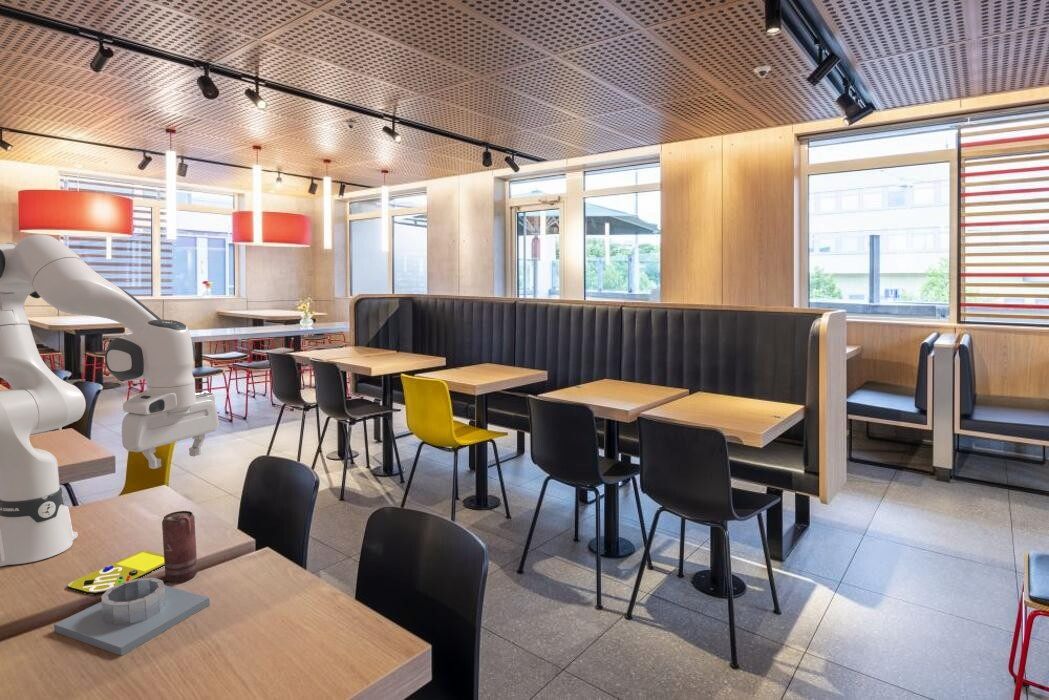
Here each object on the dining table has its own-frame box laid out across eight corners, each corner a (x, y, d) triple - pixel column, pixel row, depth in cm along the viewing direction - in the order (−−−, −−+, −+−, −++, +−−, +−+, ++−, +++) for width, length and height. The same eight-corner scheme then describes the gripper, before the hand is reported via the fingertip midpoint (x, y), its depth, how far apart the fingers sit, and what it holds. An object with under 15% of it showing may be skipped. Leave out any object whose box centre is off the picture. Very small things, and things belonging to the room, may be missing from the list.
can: (184, 585, 131) (181, 522, 129) (158, 581, 132) (154, 519, 130) (204, 571, 137) (201, 511, 135) (179, 568, 138) (176, 508, 136)
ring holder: (90, 618, 115) (89, 597, 115) (141, 592, 124) (140, 574, 124) (127, 630, 112) (126, 609, 111) (176, 603, 121) (175, 584, 120)
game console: (142, 554, 146) (142, 548, 145) (178, 562, 142) (177, 556, 142) (63, 590, 129) (63, 583, 129) (101, 600, 125) (101, 593, 125)
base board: (54, 631, 113) (54, 624, 113) (146, 586, 130) (146, 579, 130) (121, 655, 107) (121, 647, 106) (209, 604, 123) (209, 597, 123)
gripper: (203, 388, 140) (206, 447, 142) (114, 405, 121) (119, 473, 123) (223, 390, 138) (227, 450, 139) (136, 408, 119) (141, 477, 121)
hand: (175, 461), depth 131 cm, fingers open, 8 cm apart
